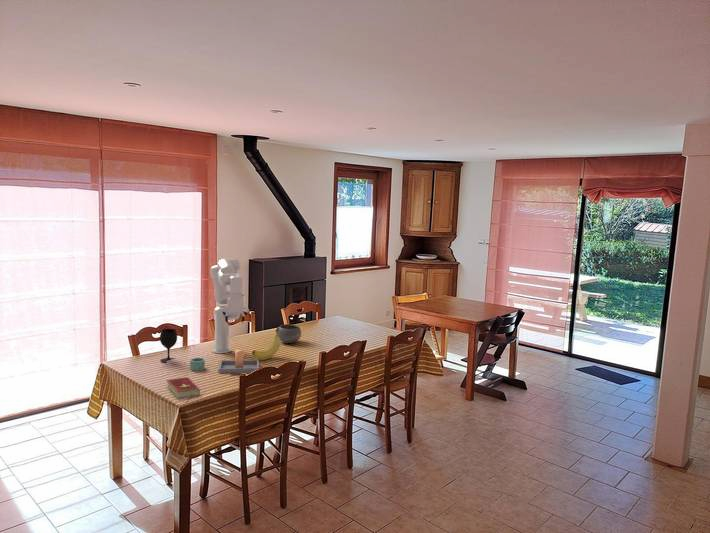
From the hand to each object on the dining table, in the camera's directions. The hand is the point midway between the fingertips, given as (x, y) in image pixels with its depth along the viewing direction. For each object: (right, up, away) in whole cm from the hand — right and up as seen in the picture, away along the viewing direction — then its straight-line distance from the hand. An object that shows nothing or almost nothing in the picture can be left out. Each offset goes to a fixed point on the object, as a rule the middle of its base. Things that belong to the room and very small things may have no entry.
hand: (234, 322), depth 337 cm
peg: (+4, -28, -4) cm, 29 cm away
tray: (+4, -29, -3) cm, 30 cm away
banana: (+16, -27, +22) cm, 38 cm away
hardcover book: (-19, -33, -43) cm, 58 cm away
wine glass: (-44, -26, +8) cm, 52 cm away
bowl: (+26, -23, +66) cm, 74 cm away
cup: (-21, -29, -8) cm, 36 cm away
